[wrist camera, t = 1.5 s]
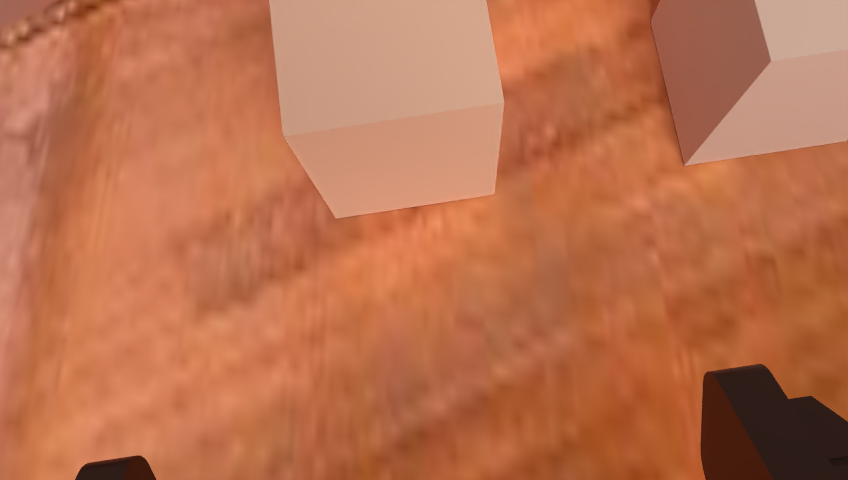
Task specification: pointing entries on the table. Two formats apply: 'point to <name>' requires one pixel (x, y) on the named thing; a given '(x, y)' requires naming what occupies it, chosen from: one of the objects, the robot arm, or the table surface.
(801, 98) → the grey cover
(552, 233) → the table surface
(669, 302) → the table surface
